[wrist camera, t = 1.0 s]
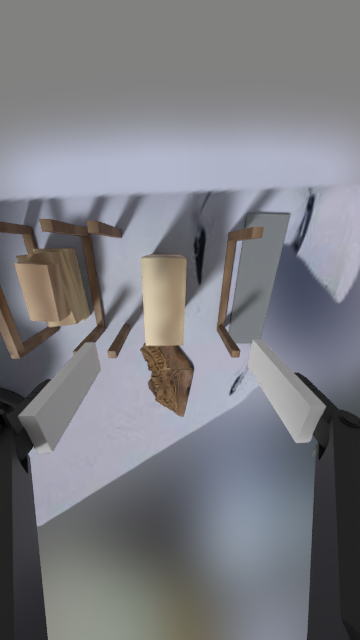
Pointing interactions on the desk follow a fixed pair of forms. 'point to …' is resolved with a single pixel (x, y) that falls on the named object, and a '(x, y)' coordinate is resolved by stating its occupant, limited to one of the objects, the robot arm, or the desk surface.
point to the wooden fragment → (169, 376)
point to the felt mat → (256, 276)
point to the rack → (3, 319)
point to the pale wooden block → (164, 298)
